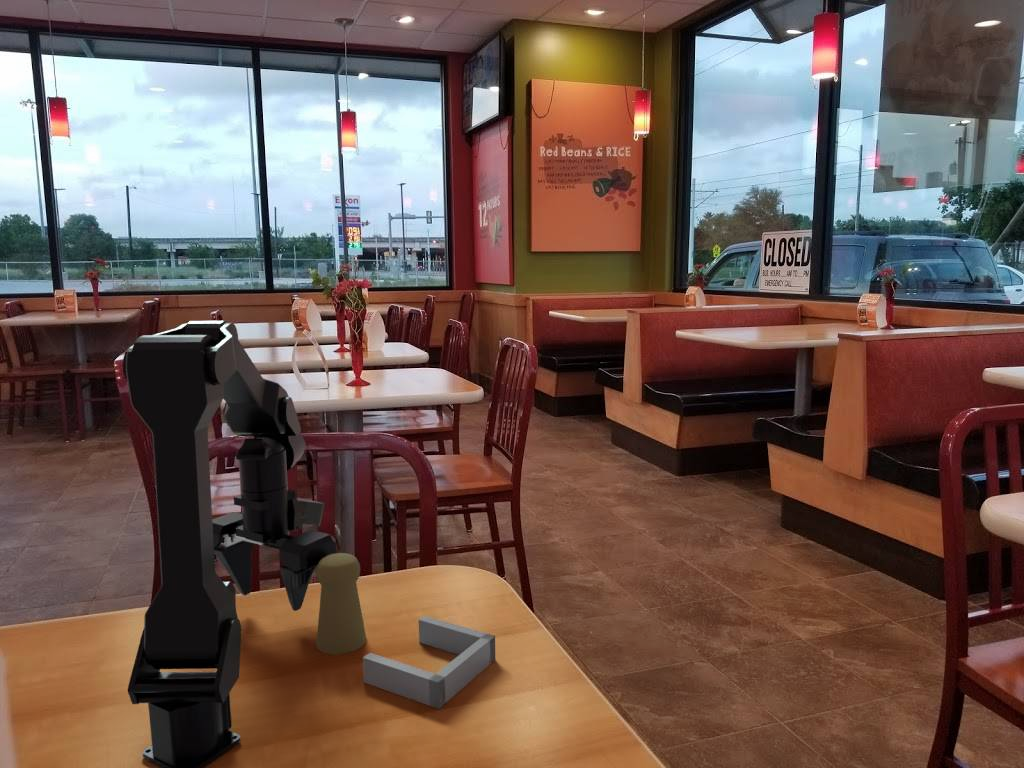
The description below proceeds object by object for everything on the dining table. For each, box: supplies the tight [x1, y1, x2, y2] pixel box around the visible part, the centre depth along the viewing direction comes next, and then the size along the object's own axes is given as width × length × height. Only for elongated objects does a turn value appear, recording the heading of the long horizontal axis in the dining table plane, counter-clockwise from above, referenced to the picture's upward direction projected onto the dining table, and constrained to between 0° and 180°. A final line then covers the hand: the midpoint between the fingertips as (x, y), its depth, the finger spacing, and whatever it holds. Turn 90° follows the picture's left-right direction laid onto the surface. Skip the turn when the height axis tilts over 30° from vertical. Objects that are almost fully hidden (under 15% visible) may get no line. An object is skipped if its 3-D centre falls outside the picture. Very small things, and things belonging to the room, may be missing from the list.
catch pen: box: [362, 615, 496, 710], centre depth 88 cm, size 11×10×3 cm
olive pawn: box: [315, 552, 367, 655], centre depth 94 cm, size 6×6×11 cm
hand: (271, 601), depth 100 cm, fingers open, 9 cm apart
